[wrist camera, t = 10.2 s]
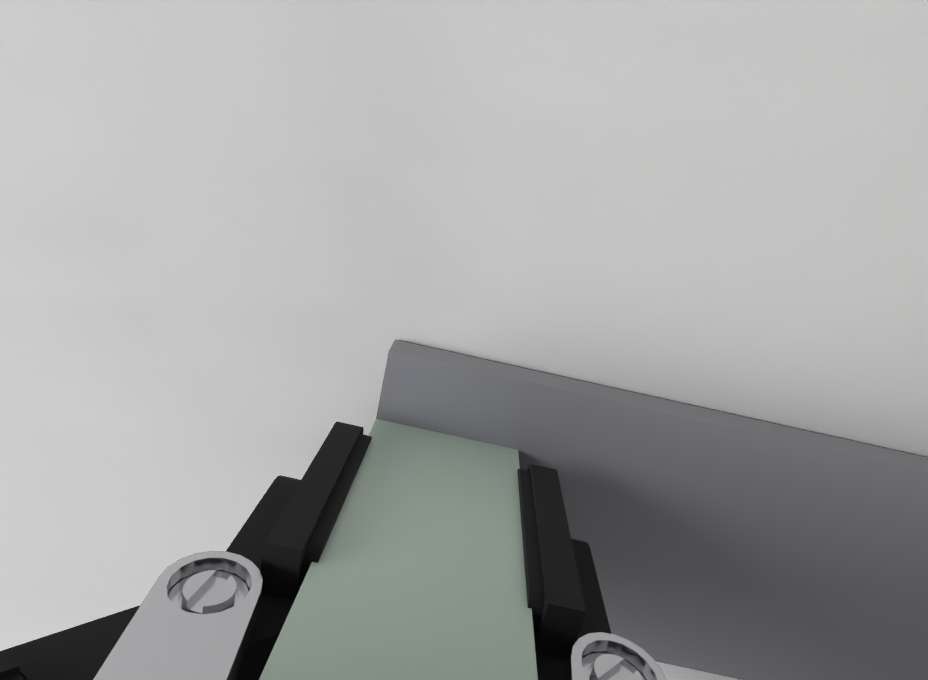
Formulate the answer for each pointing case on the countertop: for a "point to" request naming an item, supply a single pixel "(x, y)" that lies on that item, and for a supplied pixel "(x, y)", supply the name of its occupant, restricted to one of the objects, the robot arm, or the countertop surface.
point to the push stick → (611, 536)
